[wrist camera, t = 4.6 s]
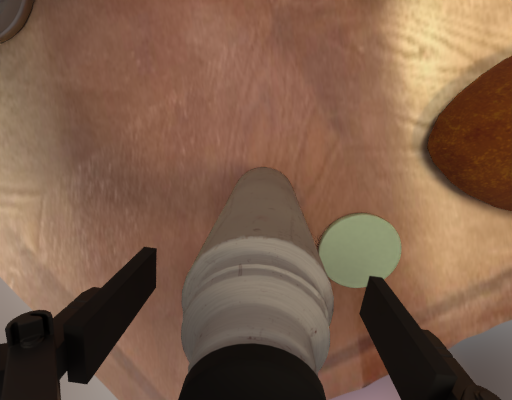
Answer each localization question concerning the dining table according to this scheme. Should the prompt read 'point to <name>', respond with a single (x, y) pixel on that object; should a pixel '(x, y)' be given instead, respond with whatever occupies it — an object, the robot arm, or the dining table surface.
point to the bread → (478, 138)
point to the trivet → (359, 249)
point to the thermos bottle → (257, 300)
